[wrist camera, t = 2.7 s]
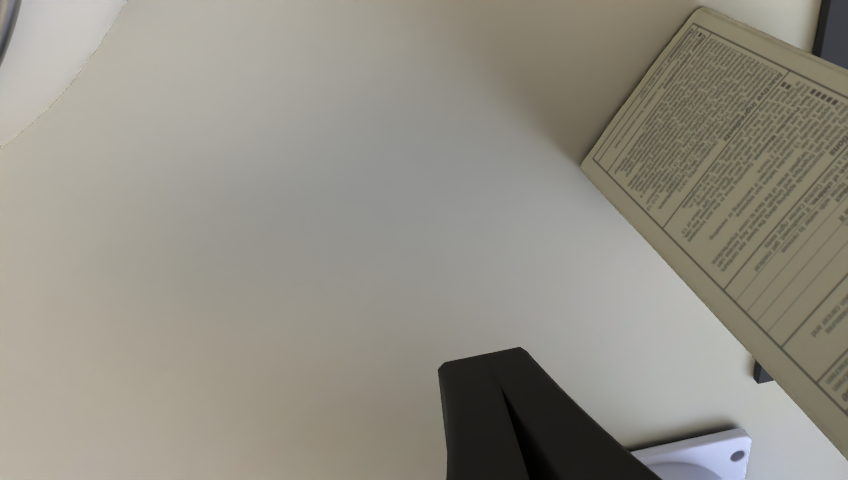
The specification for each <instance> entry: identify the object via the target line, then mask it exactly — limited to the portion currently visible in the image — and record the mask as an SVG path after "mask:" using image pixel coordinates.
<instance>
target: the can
mask: <svg viewBox="0 0 848 480" xmlns="http://www.w3.org/2000/svg"><path fill="white" fill-rule="evenodd" d="M126 2H127V0H0V148H2V147H3V146H5V145H6V144H7V143H9V142H10V141H11V140H13V139H14V138H15V137H17V136H18V135H19V134H20V133H21V132H23V131H24V130H25V129H26V128H27V127H29V126H30V125H31V124H32V123H33V122H34V121H35V120H36V119H38V118H39V117H40V116H41V115H42V114H43V113H44V112H45V111H46V110H47V109H48V108H49V107H50V106H51V105H52V104H53V103H54V102H55V101H56V100H57V99H58V98H59V97H60V96H61V95H62V94H63V93H64V91H65V90H66V89H67V88H68V87H69V85H70V84H71V83H72V82H73V81H74V79H75V78H76V77H77V75H78V74H79V73H80V71H81V70H82V69H83V67H84V66H85V65H86V63H87V62H88V60H89V59H90V58H91V56H92V55H93V54H94V52H95V51H96V49H97V48H98V46H99V45H100V43H101V42H102V40H103V39H104V37H105V36H106V34H107V32H108V31H109V29H110V28H111V26H112V25H113V23H114V21H115V20H116V18H117V17H118V15H119V13H120V12H121V10H122V8H123V7H124V5H125V3H126Z"/></svg>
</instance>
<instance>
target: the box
mask: <svg viewBox="0 0 848 480" xmlns="http://www.w3.org/2000/svg"><path fill="white" fill-rule="evenodd" d="M581 170H582V172H583V173H584V174H585V175H586V177H587V178H588V179H589V180H590V181H591V182H592V183H593V184H594V185H595V187H596V188H597V189H598V190H599V191H600V192H601V193H602V194H603V195H604V196H605V197H606V199H607V200H608V201H609V202H610V203H611V204H612V205H613V206H614V207H615V208H616V209H617V210H618V211H619V213H620V214H621V215H622V216H623V217H624V218H625V219H626V220H627V221H628V222H629V223H630V224H631V225H632V226H633V227H634V228H635V229H636V230H637V232H638V233H639V234H640V235H641V236H642V237H643V238H644V239H645V240H646V241H647V242H648V243H649V244H650V245H651V246H652V247H653V248H654V250H655V251H656V252H657V253H658V254H659V255H660V256H661V257H662V258H663V259H664V260H665V262H666V263H667V264H668V265H669V266H670V267H671V268H672V269H673V270H674V271H675V272H676V274H677V275H678V276H679V277H680V278H681V279H682V280H683V281H684V282H685V283H686V284H687V285H688V287H689V288H690V289H691V290H692V291H693V292H694V293H695V294H696V295H697V296H698V297H699V299H700V300H701V301H702V302H703V303H704V304H705V305H706V306H707V307H708V308H709V309H710V311H711V312H712V313H713V314H714V315H715V316H716V317H717V318H718V319H719V320H720V322H721V323H722V324H723V325H724V326H725V327H726V328H727V329H728V330H729V331H730V332H731V333H732V334H733V336H734V337H735V338H736V339H737V340H738V341H739V342H740V343H741V344H742V345H743V346H744V347H745V348H746V350H747V351H748V352H749V353H750V354H751V355H752V356H753V357H754V358H755V359H756V360H757V362H758V363H759V364H760V365H761V366H762V367H763V368H764V369H765V370H766V371H767V373H768V374H769V375H770V376H771V377H772V378H773V379H774V380H775V381H776V382H777V383H778V385H779V386H780V387H781V388H782V389H783V390H784V391H785V392H786V393H787V394H788V395H789V397H790V398H791V399H792V400H793V401H794V402H795V403H796V404H797V405H798V406H799V407H800V408H801V409H802V410H803V412H804V413H805V414H806V415H807V416H808V417H809V418H810V420H811V421H812V422H813V423H814V424H815V425H816V426H817V427H818V428H819V429H820V430H821V432H822V433H823V434H824V435H825V436H826V437H827V438H828V439H829V440H830V441H831V443H832V444H833V445H834V446H835V447H836V448H837V449H838V450H839V451H840V453H841V454H842V455H843V456H844V457H845V458H846V459H847V460H848V70H847V69H844V68H842V67H840V66H837V65H835V64H833V63H830V62H828V61H826V60H823V59H821V58H819V57H817V56H814V55H812V54H810V53H808V52H806V51H803V50H801V49H799V48H797V47H794V46H792V45H790V44H788V43H786V42H784V41H781V40H779V39H777V38H775V37H773V36H770V35H768V34H766V33H764V32H761V31H759V30H757V29H755V28H752V27H750V26H748V25H745V24H743V23H741V22H739V21H736V20H734V19H732V18H730V17H727V16H725V15H723V14H721V13H718V12H716V11H714V10H712V9H709V8H706V7H702V8H699V9H697V10H696V11H695V12H694V13H693V14H692V15H691V17H690V18H689V19H688V20H687V22H686V23H685V24H684V26H683V27H682V28H681V29H680V30H679V32H678V33H677V34H676V35H675V37H674V38H673V39H672V40H671V42H670V43H669V44H668V45H667V47H666V48H665V49H664V51H663V52H662V53H661V54H660V56H659V57H658V58H657V60H656V61H655V62H654V64H653V65H652V66H651V68H650V69H649V70H648V72H647V73H646V75H645V76H644V78H643V79H642V80H641V82H640V83H639V85H638V86H637V87H636V89H635V90H634V92H633V93H632V94H631V96H630V97H629V98H628V100H627V101H626V102H625V103H624V105H623V106H622V107H621V109H620V110H619V111H618V113H617V114H616V115H615V117H614V118H613V120H612V121H611V122H610V124H609V125H608V127H607V128H606V129H605V131H604V132H603V134H602V135H601V137H600V138H599V140H598V141H597V143H596V144H595V146H594V147H593V148H592V150H591V151H590V152H589V154H588V155H587V157H586V158H585V160H584V161H583V162H582V164H581Z"/></svg>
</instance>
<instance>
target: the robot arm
mask: <svg viewBox="0 0 848 480" xmlns="http://www.w3.org/2000/svg"><path fill="white" fill-rule="evenodd" d="M438 376H439V385H440V394H441V402H442V411H443V420H444V429H445V438H446V446H447V478H446V480H745V475H746V469H747V464H748V459H749V454H750V449H751V444H752V438H751V437H750V436H749V434H748V433H747V432H746V431H745V430H744V429H741V428H738V429H731V430H727V431H722V432H718V433H713V434H709V435H704V436H700V437H695V438H691V439H686V440H682V441H678V442H673V443H669V444H664V445H660V446H655V447H651V448H646V449H642V450H637V451H633V452H629V451H628V450H627V449H625V448H624V447H623V446H622V445H621V444H620V443H618V442H617V441H616V440H615V439H614V438H613V437H612V436H611V435H610V434H609V433H607V432H606V431H605V430H604V429H603V428H602V427H601V426H600V425H599V424H598V423H596V422H595V421H594V420H593V419H592V418H591V417H590V416H589V415H588V414H587V413H586V412H585V411H584V410H583V409H582V408H581V407H579V406H578V405H577V404H576V403H575V402H574V401H573V400H572V399H571V398H570V397H569V396H568V395H567V394H566V393H565V392H564V391H563V390H562V389H561V388H560V387H559V386H558V385H557V383H556V382H555V381H554V380H553V379H552V378H551V377H550V376H549V375H548V374H547V373H546V372H545V371H544V370H543V369H542V368H541V366H540V365H539V364H538V363H537V362H536V361H535V360H534V359H533V358H532V357H531V355H530V354H529V353H528V352H527V351H526V350H524V349H523V348H521V347H517V348H512V349H507V350H502V351H498V352H493V353H488V354H483V355H478V356H473V357H468V358H463V359H458V360H454V361H449V362H444V363H443V364H442V365H441V367H440V368H439V369H438Z"/></svg>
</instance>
